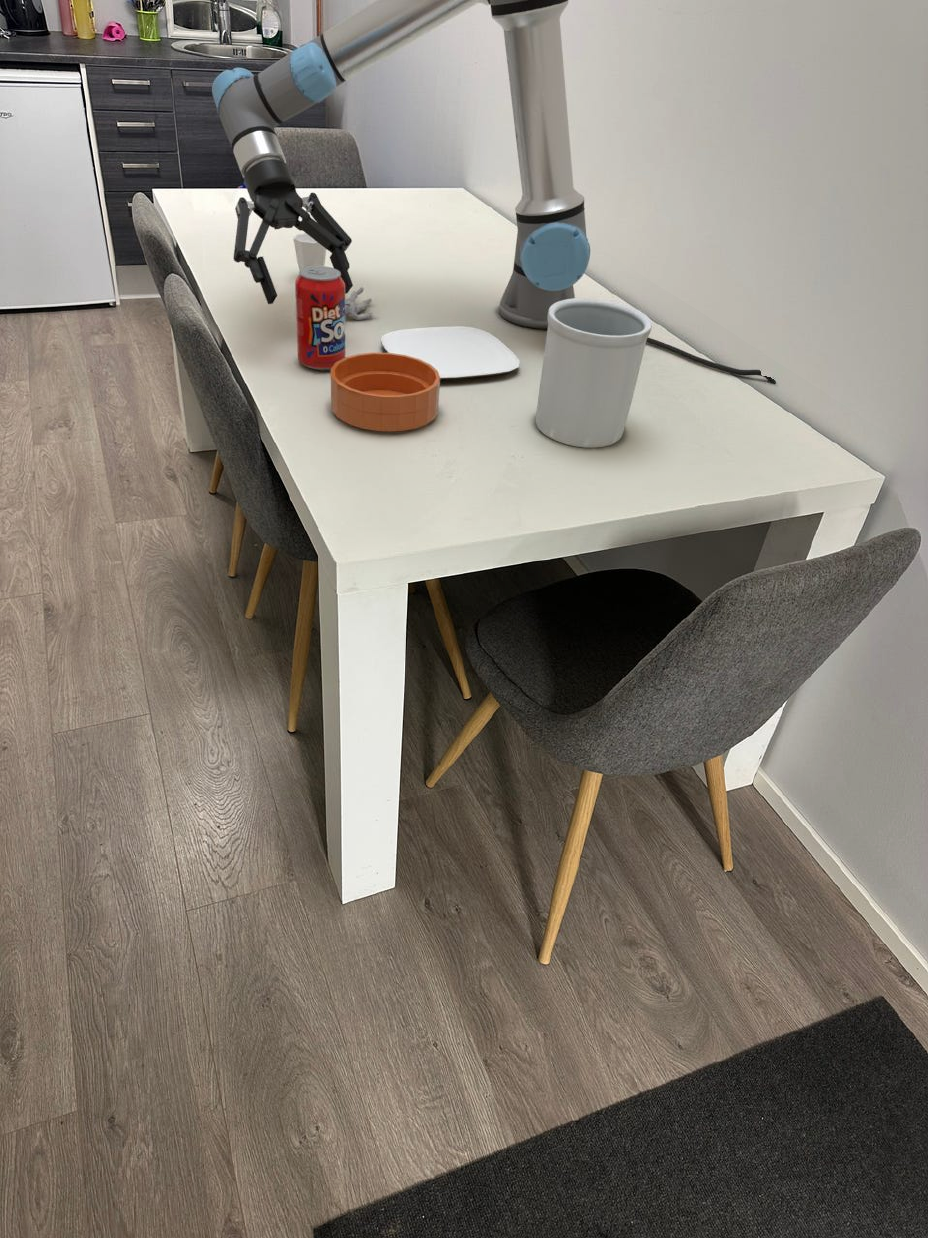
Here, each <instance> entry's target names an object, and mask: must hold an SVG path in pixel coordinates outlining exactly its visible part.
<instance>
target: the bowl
mask: <svg viewBox="0 0 928 1238" xmlns="http://www.w3.org/2000/svg"><path fill="white" fill-rule="evenodd" d="M440 389H441V379H440V376H439V373H438V371H437V370H436V369H435V368H434V367H433V366H432V365H430V364H428V363H426V362H424V361H422V360H420V359H417V358H413V357H410V356H406V355H401V354H394V353H388V352H365V353H357V354H353V355H350V356H345V358H343V359H341V360H340V361H338V362H336V363H335V364H334V365H333V367H332V368H331V370H330V409H331V411H332V413H333V414H334V415H335V416H336V418H338V419H339V420H341V421H343V422H345V423H346V424H347V425H351V426H354V427H357V428H360V429H363V430H369V431H375V432H401V431H402V432H404V431H410V430H416V429H418V428H421V427H425V426H427V425H428V424H429V423H431V422H432V421H433V420H435V419H436V417H437V415H438V412H439V402H440V401H439V400H440Z"/></svg>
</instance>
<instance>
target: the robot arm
mask: <svg viewBox="0 0 928 1238" xmlns="http://www.w3.org/2000/svg"><path fill="white" fill-rule="evenodd" d="M477 4H482V5H485V6H487V7H488V6H490V12H491V18H492V20H494V21H495V22H496V23H497V24H498V25H499V26H500V27H501V29H502V30H503V38H504V45H505V46H504V47H505V53H506V65H507V71H508V72H507V73H508V80H509V90H510V97H511V106H512V115H513V123H514V124H513V125H514V133H515V142H516V150H517V159H518V167H519V176H520V177H519V178H520V184H521V185H520V186H521V193H522V194H521V199H520V200H519V202H518V203H517V204H516V206H515V208H514V210H515V216H516V217H515V218H516V219H515V220H516V229H517V233H516V243H515V251H514V259H513V268H512V272H511V276H510V278H509V281H508V283H507V285H506V287H505V290H504V292H503V294H502V296H501V298H500V301H499V309H498V312H499V315H500V317H502V318H503V319H505V320H506V321H508V322H510V323H512V324H515V325H519V326H522V327H525V328H532V329H539V330H548V311H549V308H550V307H551V306H552V305H553V304H554V303H556V302H559V301H562V300H566V299H573V298H576V295H575V288H574V285H575V284H576V283H578V282H579V281H580V280H581V279H582V277H583V276H584V275H585V273H586V271H587V269H588V266H589V264H590V258H591V244H590V243H589V239H588V237H587V226H586V225H587V224H586V212H585V196H584V195H583V194H582V193H580V192H579V191H578V190H576V189H575V187H574V176H573V175H574V174H573V164H572V152H571V140H570V129H569V126H570V125H569V115H568V103H567V93H566V91H567V90H566V80H565V78H566V77H565V66H564V54H563V43H562V42H563V41H562V30H561V16H562V14H563V12H564V11H565V9H566V8H567V6H568V4H569V0H374V1H373V2H370V4H368V5H366V6H365V7H363V8H361V9H360V10H358V11H356V12H355V13H354V14H351V15H350V16H349V17H347V18H345V19H343V20H342V21H340V22H339V23H337V24H335V25H334V26H332V27H331V28H329V29H327V30H326V31H324V32H323V33H321V34H320V35H318V36H316V37H314V38H313V39H310V40H309V41H308V42H306V43H304V44H302V45H300V46H298V47H297V48H295V49H294V50H292V51H291V52H290V53H288V54H287V55H285V56H284V57H282V58H281V59H279V60H277V61H276V62H274V63H273V64H271V65H269V66H268V67H267V68H265V69H263V70H262V71H261V72H258V73H256V74H253V73H252V72H251V71H250V70H248V69H246V68H243V67H234V68H233V69H232V70H229V69H226V70H224V71H222V72H221V73H220V74H218V75H217V76H216V77H215V79H214V80H213V83H212V87H211V94H212V97H213V101H214V104H215V106H216V107H215V108H216V111H217V115H218V119H219V120H220V121H221V124H222V127H223V129H224V132H225V134H226V136H227V139H228V141H229V144H230V147H231V150H232V152H233V153H232V154H233V155H234V158H235V160H236V163H237V166H238V169H239V171H240V174H241V176H242V178H243V182H244V185H245V188H246V190H247V193H248V195H249V199H250V200H248V201H247V199H246V198H245V197H241V196H240V197H239V198H238V201H237V203H236V205H235V208H234V210H235V213H236V218H237V224H236V232H235V242H234V250H233V258H232V259H233V261H234V262H235V263H241V262H242V263H243V265H244V266H245V267H246V268H248V269H249V270H250V273H251V276H252V279H253V281H254V282H255V283H256V284H260V287H261V288H262V291H263V294H264V297H265V300H266V303H267V304H268V305H272V304H274V302H275V301H276V299H277V297H278V293H277V291H276V287H275V285H274V282H273V280H272V276H271V275H270V272H269V269H268V266H267V264H266V261H265V259H264V256H258V254H259V252H260V249H261V247H262V245H263V243H264V240H265V238H266V235H267V233H268V230H269V228H273V229H274V230H280V229H283V228H285V229H292V228H293V227H294V228H295V229H297V230H298V231H302V232H303V233H306V234H308V235H309V236H310V237H312V238H313V239H314V240H315V241H317V242H318V243H319V244H321V245H322V246H323V247H324V248H326V251H328V252H329V253H331V254H330V256H329V260H330V262H331V265H332V268H334V269H337V270H339V271H340V273H341V278H342V279H343V281H344V282H345V295H346V294H348V293H349V292H350V291H351V289H352V288H353V286H354V284H353V282H352V279H351V276H350V274H349V269H350V262H349V259H348V256H347V254H346V251H347V250H348V248H349V247H350V246H351V244H352V242H353V240H352V238H351V237H350V235H349V234H348V233H347V231H345V230H344V229H343V227H342V226H341V225H340V224H339V223H338V222H337V221H336V220H335V218H334V217H333V215H331V214H330V213H329V211H328V210H326V208H325V207H324V206H323V205H322V203H321V201H320V198H319V197H318V195H317V194H316V193H315V192H310V194H309V195H308V196H304V197H301V196H300V195H299V194H298V192H297V189H296V183H295V181H294V178H293V176H292V172H291V170H290V168H289V165H288V164H287V159H286V157H285V154H284V152H283V149H282V146H281V144H280V141H279V139H278V136H277V133H276V130H275V128H276V127H278V126H280V125H282V124H284V123H285V122H286V121H288V120H290V119H291V118H294V117H295V116H297V115H299V114H301V113H302V112H304V111H306V110H307V109H309V108H311V107H312V106H315V105H317V104H319V103H322V101H324V100H325V99H326V98H327V97H328V96H330V95H332V94H333V93H334V92H336V90H337V87H339V86H340V85H342V84H344V83H345V82H346V81H348V80H350V79H351V78H353V77H354V76H356V75H358V74H360V73H361V72H363V71H365V70H367V69H369V68H370V67H372V66H373V65H375V64H377V63H379V62H380V61H382V60H383V59H386V58H387V57H389V56H391V55H392V54H394V53H396V52H397V51H399V50H400V49H403V48H404V47H406V46H408V45H410V44H412V43H413V42H414V41H416V40H417V39H419V38H421V37H423V36H425V35H426V34H428V33H430V32H431V31H433V30H435V29H437V28H438V27H440V26H441V25H443V24H445V23H447V22H449V21H451V20H452V19H454V18H455V17H457V16H459V15H461V14H462V13H464V12H465V11H467V10H470V9H471V8H473V7H474V6H476V5H477ZM252 212H253V213H254V214H255V215H256V216H257V217H258V218H260V219H261V223H260V225H259V228H258V230H257V232H256V235H255V237H254V239H253V242H252V243H251V246H250V248H249V250H246V246H247V238H248V230H249V229H248V228H249V219H250V216H251V215H252ZM300 218H301V220H299V219H300ZM646 344H650V345H653V346H655V347H658V348H661V349H663V350H666V351H669V352H671V353H674V354H676V355H679V356H681V357H683V358H684V359H688V360H690V361H692V362H694V363H697V364H699V365H700V364H701V365H703V366H706V367H709V368H712V369H715V370H717V371H721V372H724V373H728V374H733V375H736V376H760V377H762V378H765V379H766V380H767V381H768V382H769V384H772V385H776V384H777V381H776V379H775V378H774V379H775V380H774V379H772V378H771V377H767V376H762V375H761V371H760V370H761V369H739V368H734V367H730V366H727V365H724V364H720V363H716V362H714V361H711V360H708V359H705V358H702V357H700V356H697V355H694V354H692V353H690V352H687V351H685V350H683V349H681V348H678V347H676V346H673V345H670V344H668V343H665V342H663V341H660V340H657V339H654V338H651V337H648V338H647V340H646Z"/></svg>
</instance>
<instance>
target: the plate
mask: <svg viewBox="0 0 928 1238" xmlns="http://www.w3.org/2000/svg"><path fill="white" fill-rule="evenodd" d="M380 343H381V345H382V348H383V349H384V350H385V351H386V353H394V354H401V355H406V356H410V357H413V358H417V359H420V360H422V361H424V362H426V363H428V364H430V365H432V366H433V367H434V368H435V369H436V370H437V371H438V373H439V376H440V380H460V379H470V378H472V379H473V378H480V377H481V378H482V377H490V376H498V375H503V374H504V375H505V374H509V373H511V372H513V371H515V370H518V369H519V368H520V362H521V361H520V359H519V358H518V356H517V355H516V354H515V353H514V352H513V351H512V350H511V349H510V348H509V347H508V346H506V345H505V344H504V343H503V342H502V341H500V339H499V338H497V337H496V336H494V335H493V334H491V333H490V332H488V331H485V330H482V329H480V328H477V327H473V326H472V327H471V326H464V325H463V326H462V325H455V326H454V325H453V326H451V325H449V326H447V325H446V326H430V327H429V326H427V327H416V328H406V329H399V330H398V329H397V330H393V331H391V332H388V333H385V334H383V335H382V337H381V339H380Z"/></svg>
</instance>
